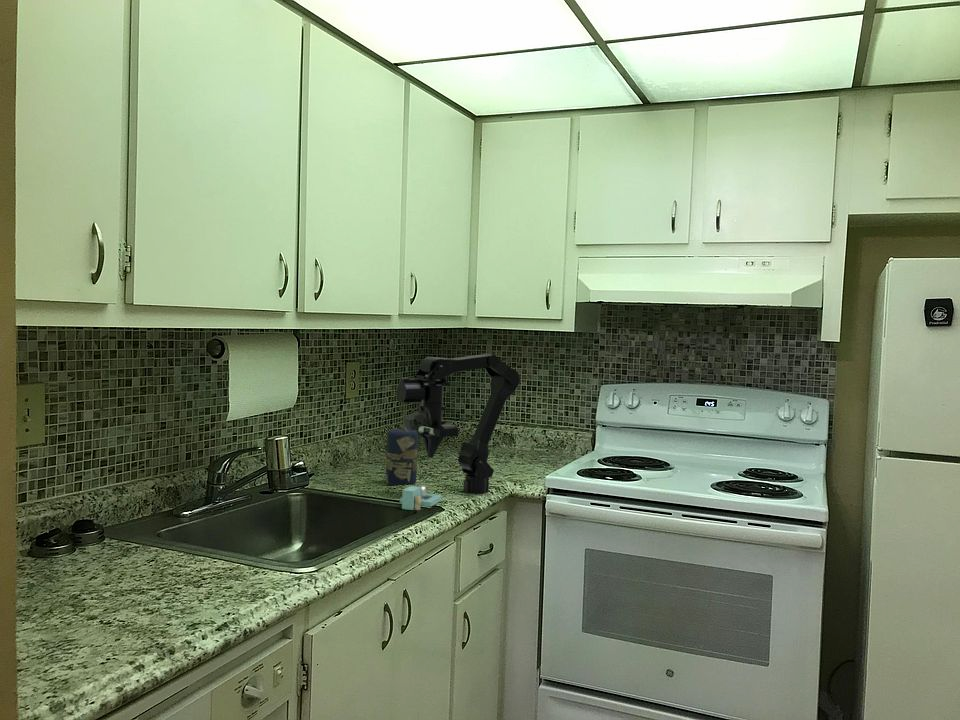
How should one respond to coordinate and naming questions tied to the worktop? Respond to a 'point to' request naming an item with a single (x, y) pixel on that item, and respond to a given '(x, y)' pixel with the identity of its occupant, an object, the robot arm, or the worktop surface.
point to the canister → (401, 457)
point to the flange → (413, 491)
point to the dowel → (417, 503)
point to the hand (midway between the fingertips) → (430, 457)
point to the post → (423, 491)
